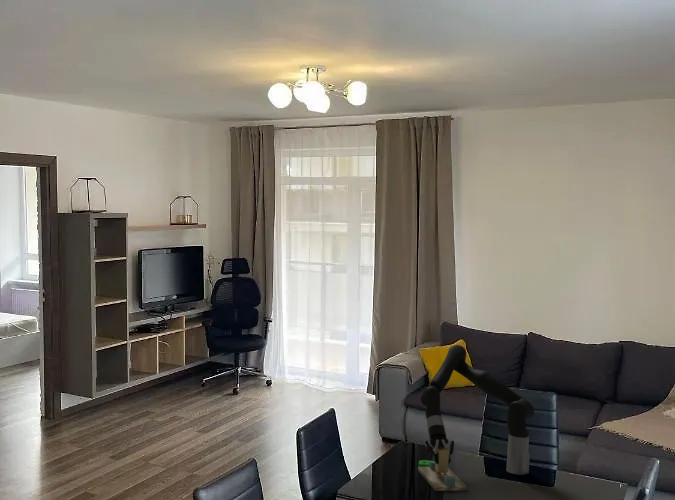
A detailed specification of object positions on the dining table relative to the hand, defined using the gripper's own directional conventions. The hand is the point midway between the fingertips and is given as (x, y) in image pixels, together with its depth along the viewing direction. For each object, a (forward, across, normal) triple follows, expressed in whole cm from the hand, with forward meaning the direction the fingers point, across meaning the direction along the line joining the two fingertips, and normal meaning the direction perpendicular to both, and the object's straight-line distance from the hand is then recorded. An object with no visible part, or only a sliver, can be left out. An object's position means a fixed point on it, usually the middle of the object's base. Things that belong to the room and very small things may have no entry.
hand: (443, 463), depth 296 cm
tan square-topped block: (+2, 0, -4) cm, 5 cm away
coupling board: (+5, 0, -7) cm, 8 cm away
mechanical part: (-7, -1, -19) cm, 20 cm away
